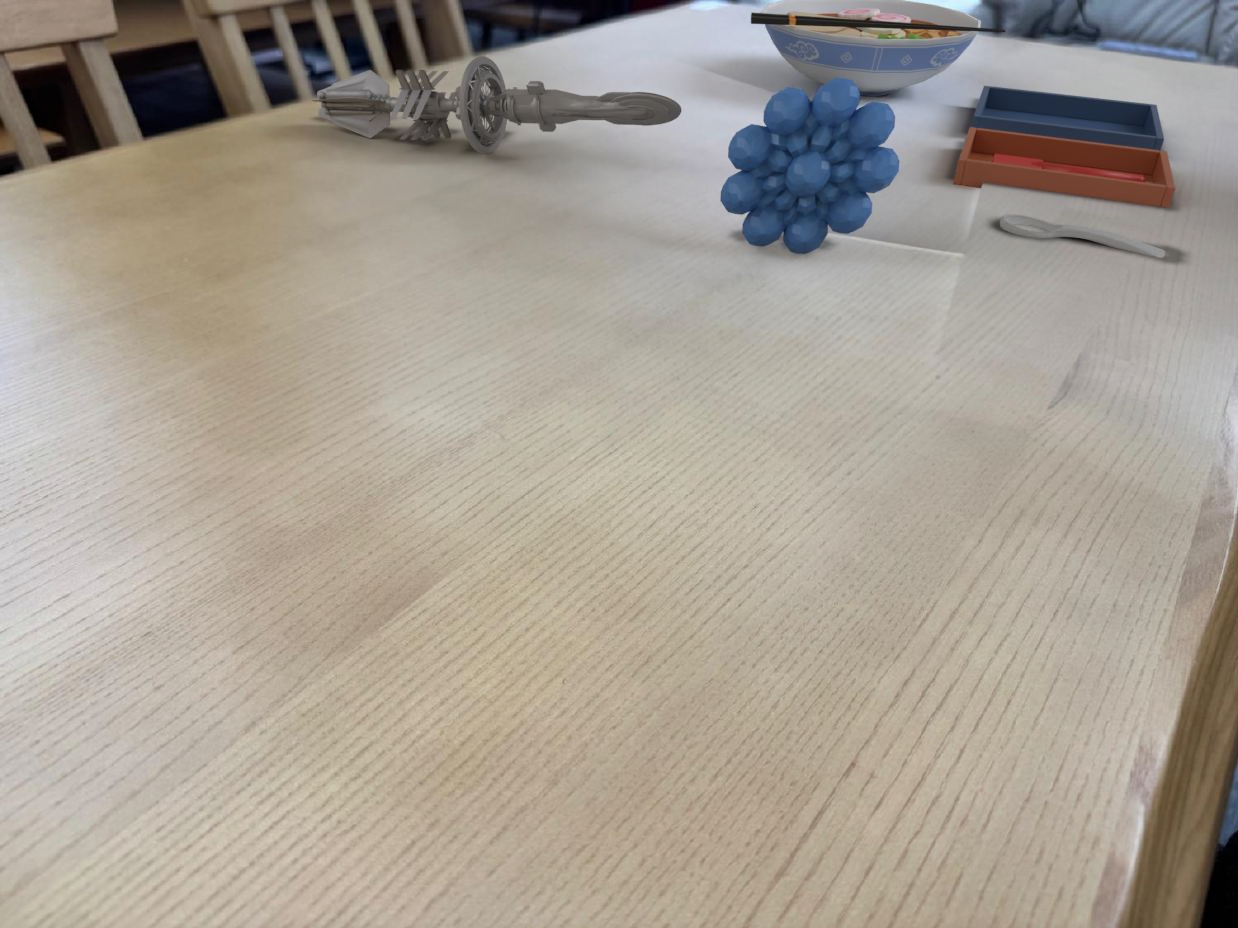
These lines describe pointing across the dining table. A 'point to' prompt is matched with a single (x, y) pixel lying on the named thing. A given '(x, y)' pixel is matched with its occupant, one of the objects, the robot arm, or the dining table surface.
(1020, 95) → the blue tray
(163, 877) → the dining table surface
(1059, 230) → the spoon
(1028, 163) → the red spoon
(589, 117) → the spaceship
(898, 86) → the ramen bowl
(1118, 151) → the terracotta tray
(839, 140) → the blue beaded flower
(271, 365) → the dining table surface
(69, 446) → the dining table surface
